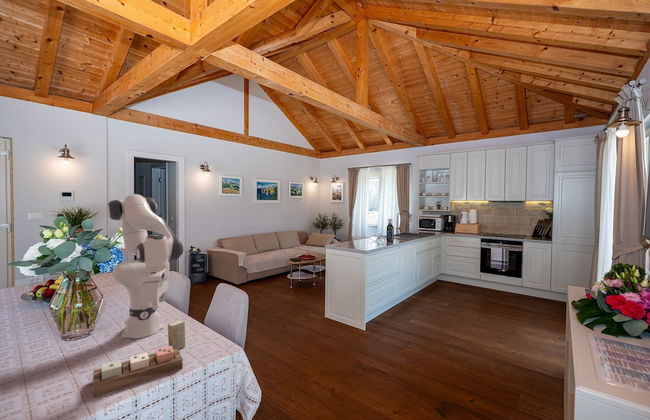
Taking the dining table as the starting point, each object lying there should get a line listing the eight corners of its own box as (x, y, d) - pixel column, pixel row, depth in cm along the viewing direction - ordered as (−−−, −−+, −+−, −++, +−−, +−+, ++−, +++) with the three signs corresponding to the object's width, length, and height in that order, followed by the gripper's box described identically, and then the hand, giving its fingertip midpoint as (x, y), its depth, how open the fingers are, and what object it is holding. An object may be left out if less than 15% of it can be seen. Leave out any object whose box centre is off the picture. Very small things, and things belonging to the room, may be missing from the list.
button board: (93, 380, 112) (93, 370, 112) (176, 355, 129) (176, 347, 129) (92, 397, 102) (92, 386, 102) (182, 368, 120) (182, 358, 120)
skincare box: (181, 343, 141) (181, 319, 140) (185, 346, 138) (185, 321, 137) (167, 348, 136) (167, 323, 135) (171, 352, 133) (171, 326, 132)
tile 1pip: (102, 377, 111) (101, 364, 111) (121, 371, 115) (120, 358, 114) (101, 385, 106) (101, 371, 106) (121, 379, 110) (121, 365, 110)
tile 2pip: (130, 368, 116) (129, 356, 116) (147, 363, 120) (147, 351, 120) (131, 376, 112) (130, 363, 111) (149, 370, 115) (149, 358, 115)
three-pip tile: (155, 361, 122) (155, 349, 122) (171, 356, 125) (171, 345, 125) (157, 368, 117) (157, 355, 117) (174, 363, 121) (174, 350, 120)
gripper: (156, 268, 131) (157, 298, 131) (141, 279, 111) (142, 314, 111) (171, 267, 132) (172, 297, 133) (159, 277, 113) (160, 312, 113)
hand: (158, 305), depth 122 cm, fingers open, 8 cm apart
